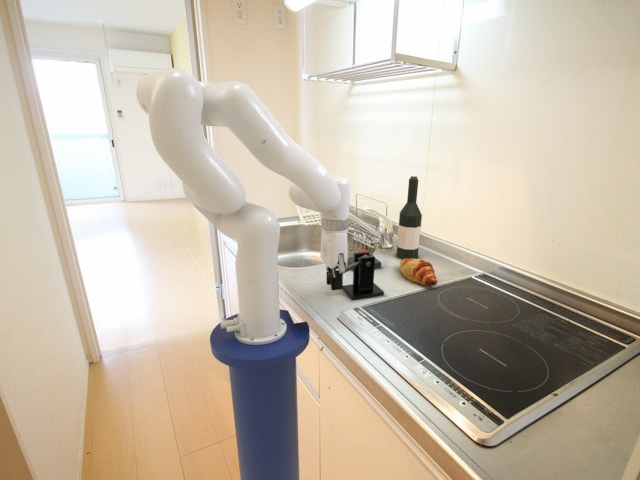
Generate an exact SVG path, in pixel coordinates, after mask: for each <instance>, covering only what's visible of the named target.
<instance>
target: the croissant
mask: <svg viewBox="0 0 640 480" xmlns="http://www.w3.org/2000/svg"><path fill="white" fill-rule="evenodd" d="M399 271H400V272H401V276H402V277H404V278H406V279H407V280H409V281H412V282H414V283H418V284H420V285H423V286H427V287H432V286H436V285H437V284H438V279H437V276H436V273H435V269H434V267H433V264H432V263H431V262H430V261H429V260H427V259H423V258H422V259H421V258H417V259H413V258H408V259H407V258H406V259H401V260H400V264H399Z"/></svg>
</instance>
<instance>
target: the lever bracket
mask: <svg viewBox="0 0 640 480" xmlns="http://www.w3.org/2000/svg"><path fill="white" fill-rule="evenodd" d="M369 253H370V251H369V252H359V251H358V252H354V253H353V257H354V263H355V262H357V261H358V259H357V258H359V257H360V258H359V266H358V267H356V268H354V269H353V270H352V284H351V283H350V284H345V285H343V288H342V289H341V290H342V291H343V292H344V293H345V294H346V295H347V297H348V298H349V299H350V300H351V301H357V300H365V299H370V298H377V297H384V296H385V291H384V290H382V289H381V288H380V286H378V285H377V284H376V283H374V282H375V269H374V266H375V258H376V256H375V255H373V256H369ZM365 254H366V255H368V257H361V256H363V255H365Z"/></svg>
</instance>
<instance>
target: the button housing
mask: <svg viewBox="0 0 640 480" xmlns="http://www.w3.org/2000/svg"><path fill="white" fill-rule="evenodd" d="M369 256H374V254H373V253H371V252H369ZM353 263H354V256H353V257H352V256H350V257H349V256H348V262H347V266H349V265H351V264H353ZM378 269H382V261H381V260H379V259H377V257H375V266H374V270H378ZM352 271H353V269H352Z"/></svg>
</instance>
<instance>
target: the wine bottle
mask: <svg viewBox="0 0 640 480" xmlns="http://www.w3.org/2000/svg"><path fill="white" fill-rule="evenodd" d="M407 187H408V189H407V200H406V203H405V205H403V207H402V209H401V210H400V211H399V217H398V230H397V244H396V258H397V259H399V260H403V259H406V258H407V259H408V258H413V259H419V249H420V238H421V228H422V219H423V214H422V212H421V209H420V208H419V206H418V204H417V199H418V189H419V178H418V176H417V175H416V176H413V175H411V176H410V177H409V178H408V186H407Z"/></svg>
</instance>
